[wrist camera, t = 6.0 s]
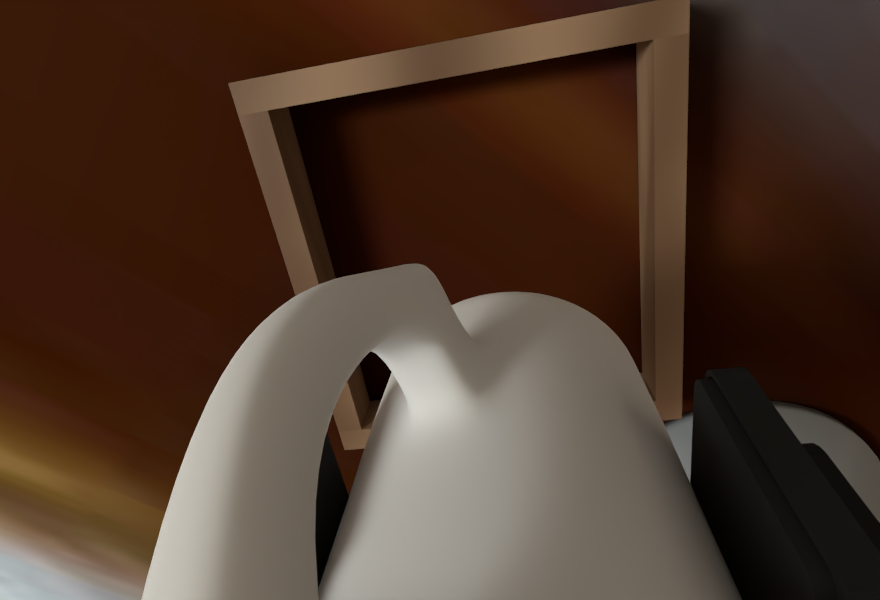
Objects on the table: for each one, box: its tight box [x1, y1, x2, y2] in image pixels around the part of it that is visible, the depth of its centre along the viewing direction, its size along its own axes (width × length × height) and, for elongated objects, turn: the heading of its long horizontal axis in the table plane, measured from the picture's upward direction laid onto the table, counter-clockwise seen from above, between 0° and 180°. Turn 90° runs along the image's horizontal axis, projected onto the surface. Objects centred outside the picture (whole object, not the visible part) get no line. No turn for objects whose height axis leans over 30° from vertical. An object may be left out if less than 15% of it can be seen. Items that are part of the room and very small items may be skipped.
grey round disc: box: [664, 401, 880, 523], centre depth 26 cm, size 13×13×1 cm
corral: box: [228, 0, 690, 450], centre depth 20 cm, size 14×15×2 cm
